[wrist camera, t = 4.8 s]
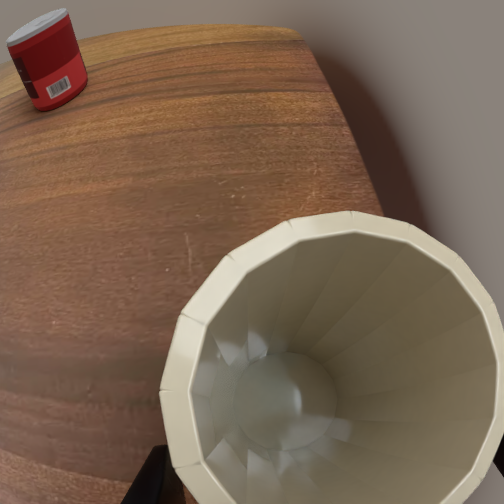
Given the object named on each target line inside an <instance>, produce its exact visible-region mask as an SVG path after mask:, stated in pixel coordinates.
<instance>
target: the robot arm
mask: <svg viewBox="0 0 504 504" xmlns="http://www.w3.org/2000/svg"><path fill="white" fill-rule="evenodd" d="M493 462H494V464H495V465H496V467H497V468H498V470H499V471H500V473H501V474H502V476H503V477H504V434H503V437H502V439H501V442H500V444H499V447H498V449H497V451H496V454H495V456H494V458H493ZM121 504H186V501H185V496H184V490H183V485H182V481H181V479H180V478H179V477H178V475H177V474H176V472H175V468H173V466H172V462H171V457H170V453H169V448H168V445H157V446H155V447H153V449H152V451H151V452H150V454H149V456H148V458H147V459H146V461H145V463H144V464H143V466H142V468H141V470H140V471H139V473H138V475H137V476H136V478H135V480H134V482H133V483H132V485H131V487H130V488H129V490H128V492H127V494H126V495H125V497H124V499H123V500H122V502H121Z"/></svg>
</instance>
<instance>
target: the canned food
mask: <svg viewBox="0 0 504 504" xmlns="http://www.w3.org/2000/svg"><path fill="white" fill-rule="evenodd" d="M6 43H7V47H8V50H9V52H10V55H11V57H12V60H13V62H14V64H15V66H16V69H17V71H18V73H19V75H20V77H21V80H22V82H23V84H24V86H25V88H26V90H27V92H28V94H29V96H30V98H31V100H32V102H33V104H34V106H35V107H36V108H37V109H38V110H40V111H48V110H52V109H55V108H57V107H59V106H61V105H63V104H65V103H67V102H68V101H70V100H71V99H73V98H74V97H75V96H77V95H78V94H79V93H80V92H81V91H82V90H83V89H84V87H85V86H86V84H87V71H86V68H85V65H84V62H83V59H82V56H81V53H80V50H79V47H78V44H77V40H76V37H75V34H74V31H73V27H72V24H71V20H70V18H69V14H68V12H67V9H66V8H62V9H58V10H55V11H52V12H50V13H47V14H45V15H43V16H41V17H39V18H37V19H35V20H33V21H31V22H30V23H28V24H26V25H25V26H23V27H22V28H20V29H19V30H17V31H16V32H15V33H14V34H12V35H11V36H10V37H9V38H8V40H7V41H6Z"/></svg>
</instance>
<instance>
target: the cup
mask: <svg viewBox="0 0 504 504" xmlns="http://www.w3.org/2000/svg"><path fill="white" fill-rule="evenodd" d="M160 390H161V391H160V392H159V397H160V403H161V409H162V415H163V421H164V427H165V432H166V438H167V443H168V448H169V453H170V457H171V462H172V466H173V468H175V472H176V474H177V475H178V477H179V478H180V479H181V481H182V482H183V484H184V485H185V486H186V488H187V489H188V490H189V492H190V493H191V494H192V496H193V497H194V498H195V500H196V501H197V502H198V503H199V504H463V502H464V501H465V500H466V499H467V498H468V497H469V496H470V495H471V494H472V492H473V491H474V490H475V489H476V488H477V487H478V486H479V485H480V483H481V480H483V479H484V477H485V475H486V473H487V471H488V469H489V467H490V465H491V463H492V461H493V458H494V456H495V454H496V451H497V449H498V447H499V444H500V442H501V439H502V437H503V434H504V330H503V327H502V324H501V320H500V318H499V315H498V311H497V309H496V305H495V304H494V303H493V300H492V298H491V297H490V295H489V294H488V292H487V291H486V290H485V288H484V287H483V285H482V284H481V283H480V281H479V280H478V279H477V277H476V276H475V275H474V273H473V272H472V271H471V270H470V268H469V267H468V266H467V264H466V263H465V262H464V261H463V260H462V258H461V257H458V254H457V253H455V252H454V251H452V250H451V249H449V248H448V247H446V246H445V245H443V244H442V243H440V242H439V241H437V240H435V239H434V238H433V237H431V236H429V235H428V234H426V233H425V232H423V231H421V230H420V229H418V228H417V227H415V226H414V225H409V224H408V223H406V222H402V221H398V220H394V219H389V218H385V217H380V216H376V215H371V214H367V213H362V212H357V211H351V212H350V211H341V212H334V213H328V214H321V215H314V216H307V217H300V218H294V219H289V220H288V221H284V222H282V223H280V224H278V225H277V226H275V227H273V228H271V229H270V230H268V231H266V232H264V233H263V234H261V235H259V236H257V237H256V238H254V239H252V240H250V241H249V242H247V243H245V244H243V245H242V246H240V247H238V248H236V249H235V250H233V251H231V252H229V253H228V255H226V256H224V257H223V259H222V260H221V261H220V262H219V264H218V265H217V266H216V267H215V269H214V270H213V271H212V273H211V274H210V275H209V276H208V278H207V279H206V280H205V281H204V283H203V284H202V285H201V286H200V288H199V289H198V290H197V291H196V293H195V294H194V295H193V297H192V298H191V299H190V300H189V302H188V303H187V304H186V305H185V307H184V308H183V309H182V311H181V315H180V316H179V317H178V320H177V324H176V327H175V331H174V334H173V338H172V342H171V345H170V349H169V353H168V356H167V360H166V364H165V368H164V372H163V376H162V379H161V383H160Z"/></svg>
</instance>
